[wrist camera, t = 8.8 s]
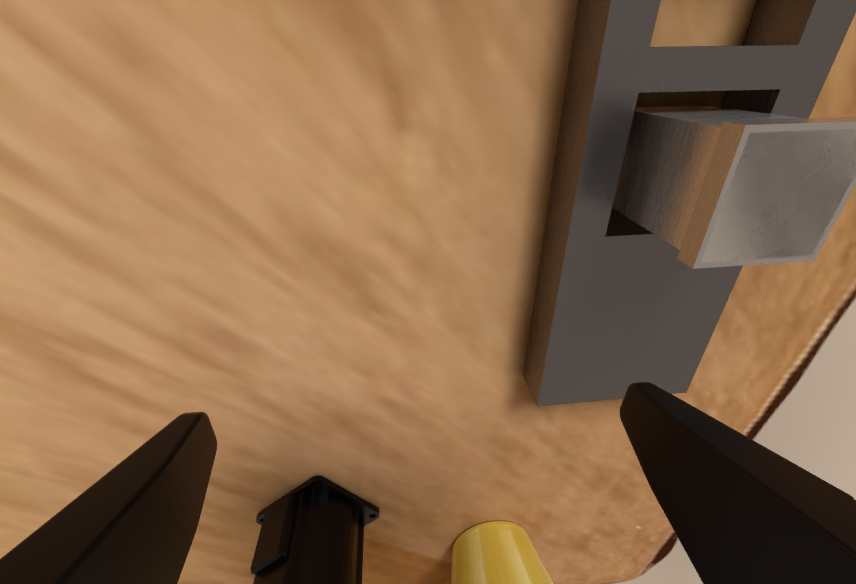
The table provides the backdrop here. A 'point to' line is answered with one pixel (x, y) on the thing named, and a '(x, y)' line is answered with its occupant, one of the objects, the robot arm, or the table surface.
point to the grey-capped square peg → (736, 182)
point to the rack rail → (620, 236)
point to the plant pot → (496, 556)
